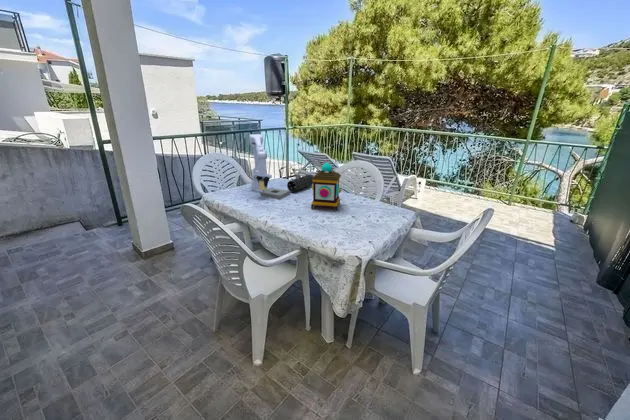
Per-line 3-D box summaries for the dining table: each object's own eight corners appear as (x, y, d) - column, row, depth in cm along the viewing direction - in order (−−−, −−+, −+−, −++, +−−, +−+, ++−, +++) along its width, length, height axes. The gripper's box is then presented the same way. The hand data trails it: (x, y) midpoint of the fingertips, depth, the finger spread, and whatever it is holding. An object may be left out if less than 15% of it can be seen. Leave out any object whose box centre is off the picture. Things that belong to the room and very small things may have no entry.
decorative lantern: (338, 212, 179) (340, 166, 169) (308, 210, 183) (309, 164, 173) (341, 202, 198) (344, 160, 187) (314, 200, 201) (315, 159, 191)
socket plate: (260, 195, 211) (260, 192, 210) (271, 191, 222) (270, 187, 221) (279, 199, 203) (279, 195, 202) (290, 194, 215) (290, 190, 214)
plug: (259, 189, 203) (259, 180, 200) (263, 188, 206) (262, 178, 203) (264, 190, 201) (263, 180, 198) (267, 188, 204) (267, 179, 202)
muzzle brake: (286, 192, 221) (286, 179, 218) (306, 184, 243) (306, 173, 240) (296, 194, 216) (296, 181, 213) (315, 186, 238) (315, 174, 235)
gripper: (250, 168, 198) (252, 186, 203) (267, 170, 192) (268, 189, 196) (257, 166, 204) (258, 184, 208) (273, 168, 197) (274, 186, 202)
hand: (263, 186), depth 203 cm, fingers closed on plug, 4 cm apart
